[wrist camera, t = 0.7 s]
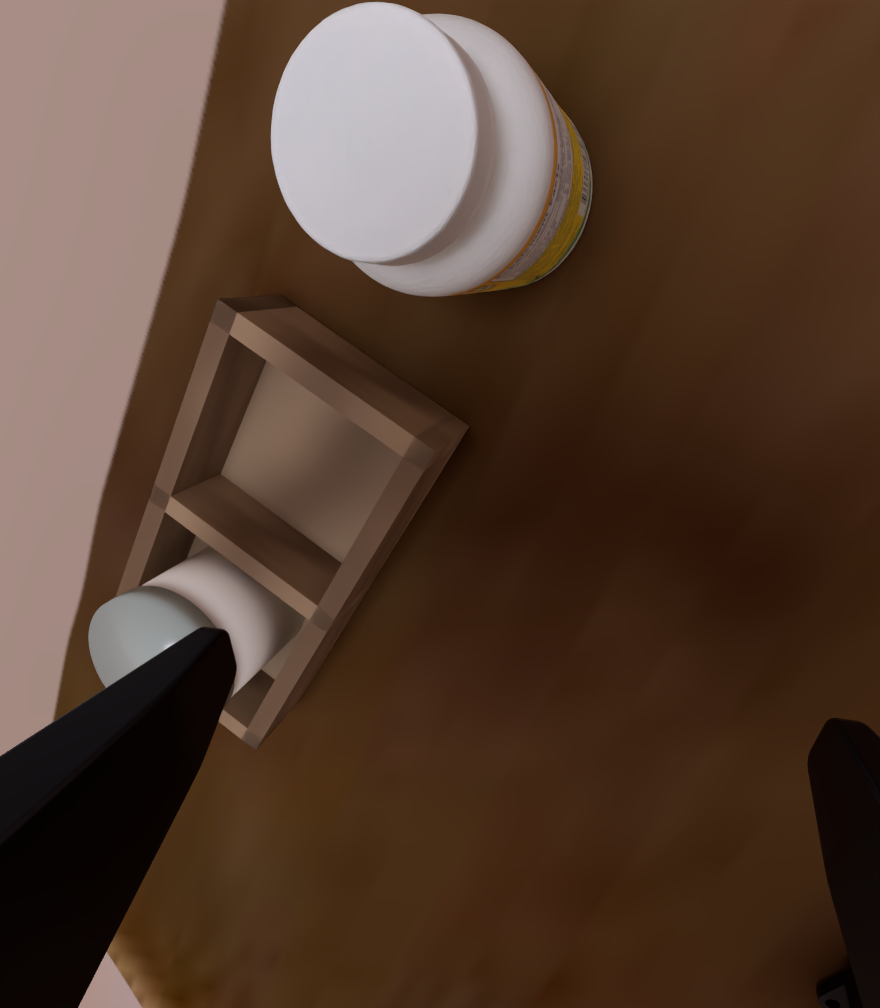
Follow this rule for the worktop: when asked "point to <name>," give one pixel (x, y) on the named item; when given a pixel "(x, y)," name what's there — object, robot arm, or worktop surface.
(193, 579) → the jar
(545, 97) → the supplement bottle
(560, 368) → the worktop surface
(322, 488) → the crate
